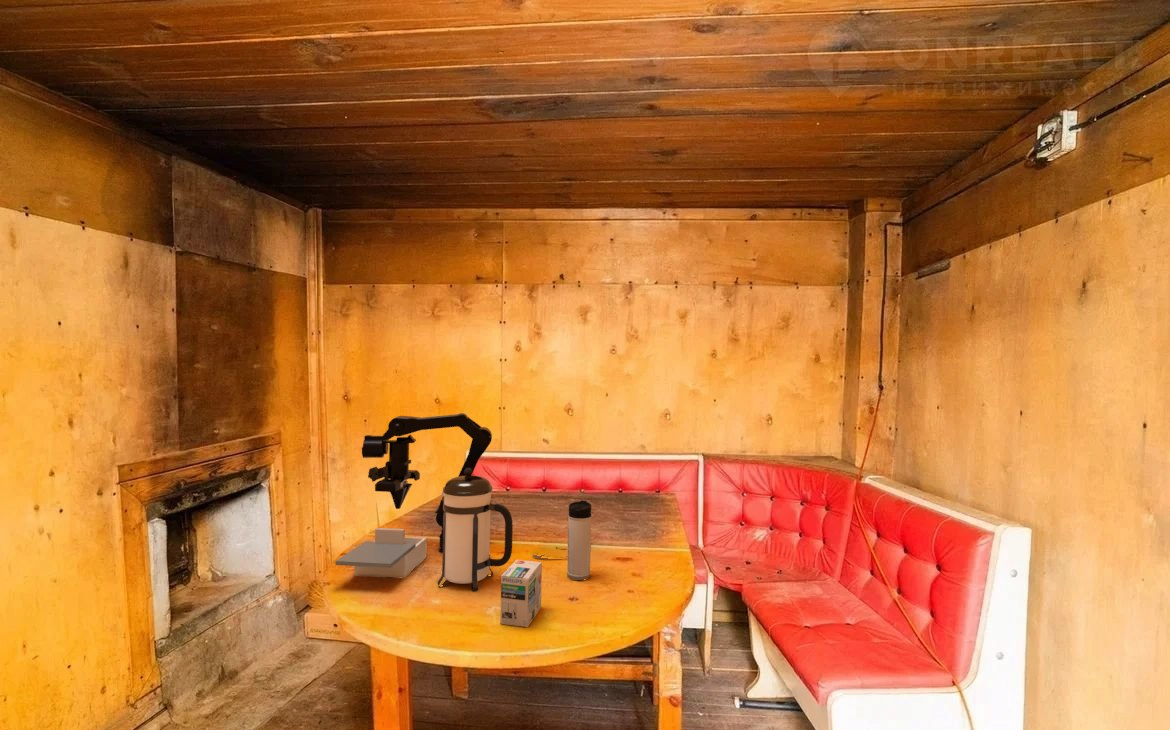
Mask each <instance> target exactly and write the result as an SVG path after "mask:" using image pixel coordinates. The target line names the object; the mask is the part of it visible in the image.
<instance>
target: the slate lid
mask: <svg viewBox="0 0 1170 730" xmlns="http://www.w3.org/2000/svg"><path fill="white" fill-rule="evenodd" d="M374 530H375V531H374V533H375V534H374V540H375V541H374V540H373V541H372V540H370V541H369V540H365V541H364V542H362V543H361V544H359V545H358V546H356V547H355V548H353V549H352V550H350V551H348V552H347V553H345V554H344V555H342V556H341V557H339V558H338V559H336V560H335V562H334V563H335V566H347V567H354V566H364V567H383V568H391V567H392V566H393V565H395V564H396V563H397V562H398V561H399V560H401V559H402V558H403V557H404V556H405V555H407V554H408V553H409V552H410V551H411V550H413V549H414V548H415V547H416V543H405V537H406V535H405V534H406V529H405V528H385V527H376V528H375V529H374Z"/></svg>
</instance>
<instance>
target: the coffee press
mask: <svg viewBox="0 0 1170 730" xmlns="http://www.w3.org/2000/svg"><path fill="white" fill-rule="evenodd" d="M472 472H474V471H472V469H471V468H466V469H465V470H464V474H465V475H466V476H459V475H458V476H459V477H458V476H456V477H452V478H450V479H449V480H447V482H446V483H445V486H444V487H443V488H442V491H441V492H440V497H443V496H444V502H443V510H444V516H443V552H442V563H441V565H442V567H441V569H442V570H441V576H440V578H439V580H438V581H437V582H436V583H437V586H438V587H439V588H441V587H440V586H439V585H443V586H444V587H445V586H446V585H447V584H448V583H449V582H451V583H453V584H465V585H466V584H469V585H470V589H471V591H472V592H476V591H479V583H478V582H479V581H482V580H483V579H485V578H487V577H488V578H492V577H493V576H494V572H493V570H492V569H491V567H502V566H504V565H506V564H507V563H508V562H509V561H510V559H511V557H512V553H513V535H514V533H513V528H514V527H513V526H514V525H513V518H512V514H511V512H510V510H509V509H508V508H507V507H506V506H505V505H503V504H500V503H492V498H491V497H492V492H493V486H492V485H491V482H490V480H489V479H488V478H485V477H483V476H479V475H473V473H472ZM491 511H494V512H498V513H500V514H501V515H502V516H503V519H504V552H503V556H502V557H501V558H492V557H491V551H490V549H491V513H492V512H491ZM489 572H490V574H489ZM488 575H491V576H488ZM443 579H445V580H444V581H443ZM442 581H443V582H442ZM440 583H441V584H440Z"/></svg>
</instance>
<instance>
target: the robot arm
mask: <svg viewBox="0 0 1170 730" xmlns="http://www.w3.org/2000/svg"><path fill="white" fill-rule="evenodd" d="M387 427H388V428H387V430H386V431H385V432H384V433H383V435H372V434H369V435H368V434H366V435H364V436H363V437H364V440H363V443H362V447H361V455H362V456H361V457H362V458H365V459H366V458H367V459H376V458H377V459H379V458H384V457H385V455H388V460H387V461H386V462H385V465H384V466H382V467H379V468H378V467H377V466H374V467H370V468H369V470H368V475H367V477H368V479H370V480H371V481H372V483H374V482H376V481H377V480H378V481H377V482H376V483H374V491H375V492H381V493H382V492H383V493H384V492H385V493H387V492H388V493H389V494H390V495H391V498H392V501H393V505H394V507H395V509H396V510H398V509H399V510H400V509H401V507H402V505H403V503H404V501H405V499H406V496H407V495H408V492H410V488H411V487H412V486H413V483H409V481H408V480H411V479H412V480H414V481H415V482H416V481H418V480H419V481H420V477H421V473H420V471H418V470H417V469H409V467H410V464H412V459H410V444H415V442H417V439H416V438H414V437H413V435H412V434H413V433H416V432H418V431H419V432H420V431H426V430H437V429H447V428H457V427H459V428H460V429H461V430H462V431H463V432H464V433H465V434H466V435H467V436H468V437H470V438H471V443H470V447H469V451H468V454H467V456H466V458H465V461H464V463H463V465H462V468H461V469H460V471H459V474H458V476H457V477H459V476H466V475H465V474H464V470H465V469H466V468H471V469H472V471H473V472H474V471H475V469H476V467H477V464H478V462H479V460H480V459H481V457H482V456H483V454H484V453H485V452H486V450H487V449H488V447H489V445H490V444H491V443H492V438H493V434H492V431H491V430H490V428H488V427H485V426H481V425H479V424H478V423H477V422H476V421H475V420H473V419H471V418H470V417H469V416H468V415H467V414H466V413H462V412H460V413H457V414H456V413H455V414H446V415H436V416H427V417H426V416H425V417H424V416H423V417H418V416H409V415H398V416H396V417H394V418H392V419H391V420H390V421H389V423H388V425H387ZM406 435H407V436H406ZM394 437H397V438H396V439H393V440H392V438H394ZM473 472H472V474H473ZM380 479H381V480H380ZM443 502H444V496H441V500H440V502H439V505H438V506H437V508H436V510H435V513H434V514H436V515H435V521H436V523H437V525H438V526H439V527H441V530H440V531H441V533H440V534H439V548H440V549H439V550H438V552H439V553H443V516H444V510H443Z"/></svg>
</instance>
